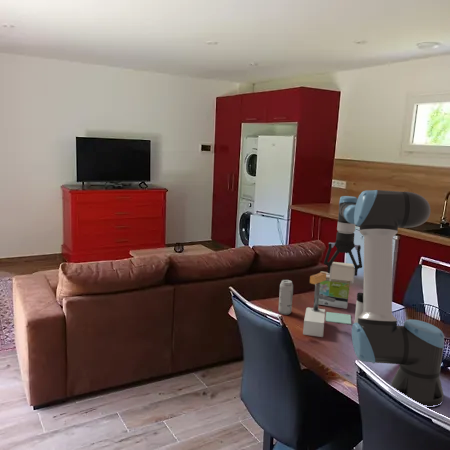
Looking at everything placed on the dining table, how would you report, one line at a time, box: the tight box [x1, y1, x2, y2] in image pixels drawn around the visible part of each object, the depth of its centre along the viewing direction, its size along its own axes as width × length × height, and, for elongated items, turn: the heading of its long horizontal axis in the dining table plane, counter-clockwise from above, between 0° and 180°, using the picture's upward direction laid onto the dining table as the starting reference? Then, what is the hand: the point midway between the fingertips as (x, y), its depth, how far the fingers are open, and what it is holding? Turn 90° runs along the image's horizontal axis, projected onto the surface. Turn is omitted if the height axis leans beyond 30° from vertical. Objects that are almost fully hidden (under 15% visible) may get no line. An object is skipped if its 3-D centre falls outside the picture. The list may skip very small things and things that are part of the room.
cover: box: [331, 261, 355, 282], centre depth 199 cm, size 7×9×6 cm
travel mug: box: [353, 292, 363, 324], centre depth 179 cm, size 6×7×20 cm
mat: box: [325, 311, 352, 326], centre depth 202 cm, size 11×11×1 cm
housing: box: [302, 306, 326, 338], centre depth 190 cm, size 16×8×6 cm, turn 166°
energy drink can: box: [278, 279, 294, 316], centre depth 206 cm, size 6×6×15 cm
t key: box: [309, 272, 335, 311], centre depth 191 cm, size 10×9×16 cm
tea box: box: [318, 271, 351, 310], centre depth 220 cm, size 15×10×15 cm, turn 73°
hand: (341, 281), depth 200 cm, fingers closed on cover, 9 cm apart
